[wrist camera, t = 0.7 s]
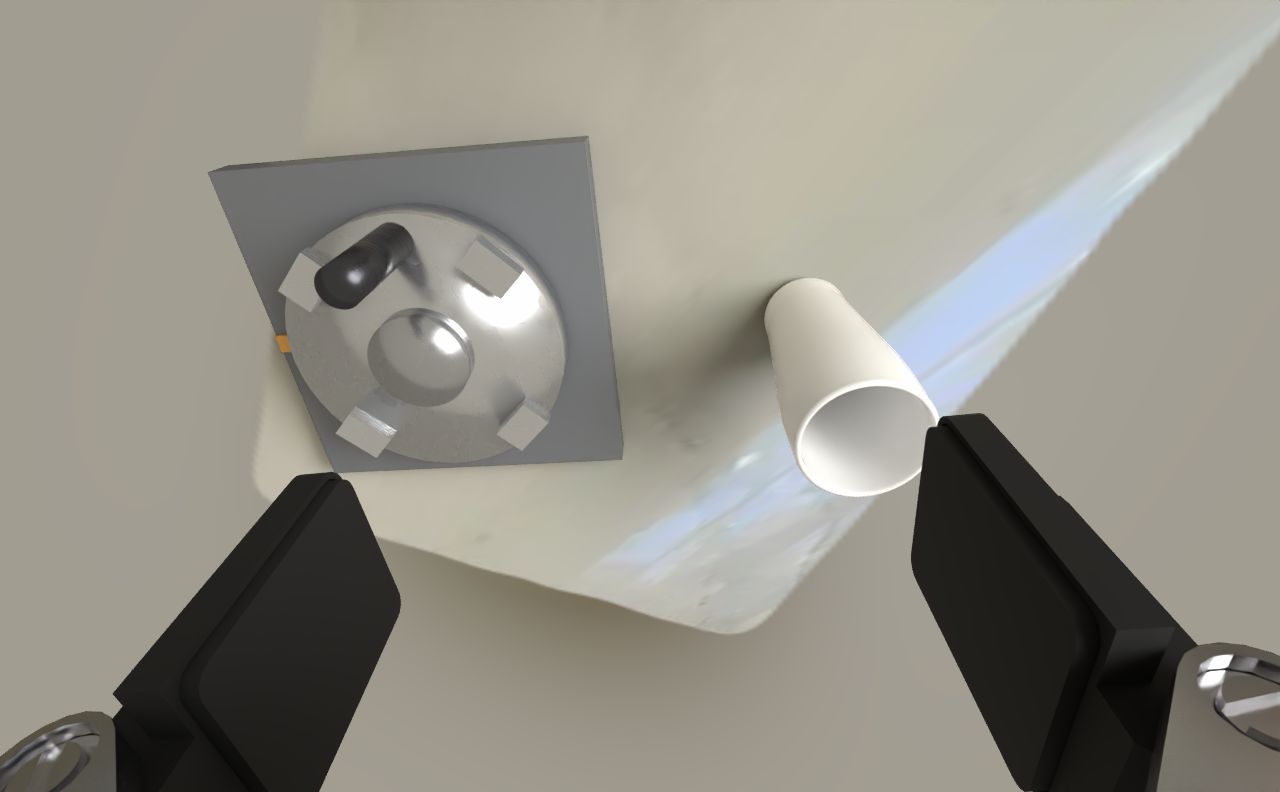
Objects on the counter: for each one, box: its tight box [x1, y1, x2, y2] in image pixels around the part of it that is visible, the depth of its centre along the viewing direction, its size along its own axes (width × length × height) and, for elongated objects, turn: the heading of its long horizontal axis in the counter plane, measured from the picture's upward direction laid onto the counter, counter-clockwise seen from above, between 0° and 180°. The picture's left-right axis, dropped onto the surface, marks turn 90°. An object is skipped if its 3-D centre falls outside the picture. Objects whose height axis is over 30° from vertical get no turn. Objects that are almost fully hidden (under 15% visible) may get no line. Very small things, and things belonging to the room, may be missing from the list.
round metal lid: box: [278, 203, 568, 463], centre depth 36 cm, size 17×17×10 cm
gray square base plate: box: [208, 136, 624, 473], centre depth 41 cm, size 22×22×2 cm
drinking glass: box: [764, 278, 939, 497], centre depth 35 cm, size 7×7×15 cm
